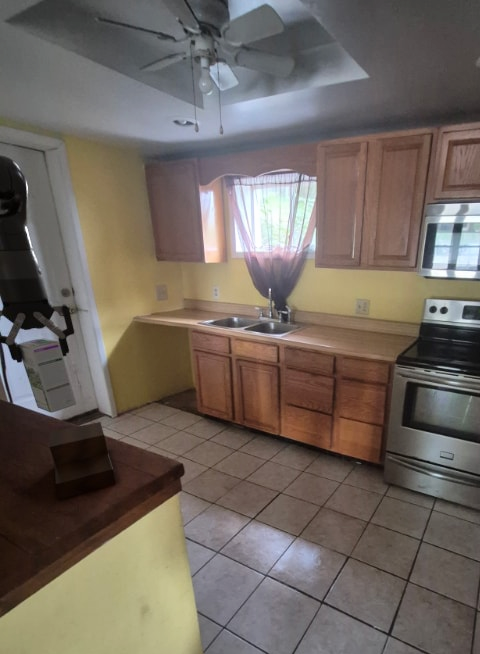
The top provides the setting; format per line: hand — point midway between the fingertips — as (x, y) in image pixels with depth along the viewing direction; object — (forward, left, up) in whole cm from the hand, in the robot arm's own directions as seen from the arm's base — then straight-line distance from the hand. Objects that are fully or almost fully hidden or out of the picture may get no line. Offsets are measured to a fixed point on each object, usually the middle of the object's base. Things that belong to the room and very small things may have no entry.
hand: (42, 358), depth 77 cm
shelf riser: (+2, -1, -29) cm, 29 cm away
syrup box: (0, 0, -11) cm, 11 cm away
